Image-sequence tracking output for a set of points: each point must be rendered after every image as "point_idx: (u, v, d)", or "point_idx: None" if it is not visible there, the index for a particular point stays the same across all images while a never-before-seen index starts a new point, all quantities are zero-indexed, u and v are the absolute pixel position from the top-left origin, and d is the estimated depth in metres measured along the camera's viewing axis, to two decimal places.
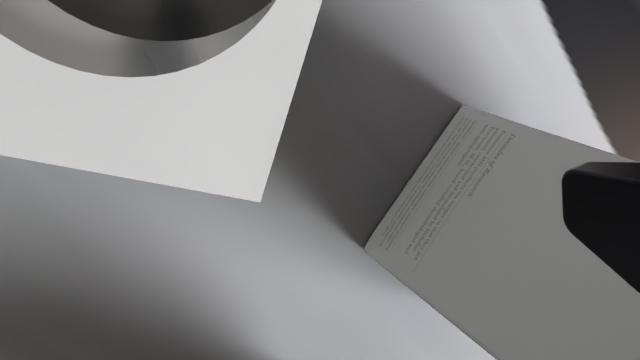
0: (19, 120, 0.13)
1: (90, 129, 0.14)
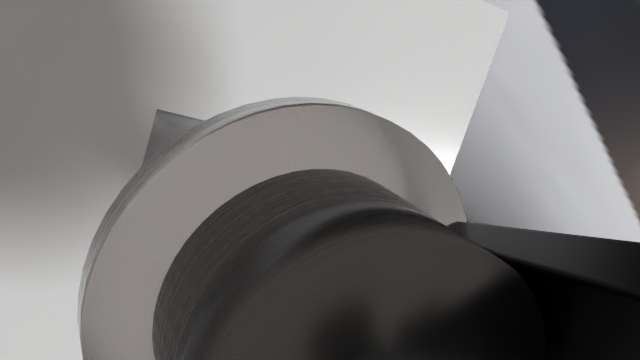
0: None
1: None
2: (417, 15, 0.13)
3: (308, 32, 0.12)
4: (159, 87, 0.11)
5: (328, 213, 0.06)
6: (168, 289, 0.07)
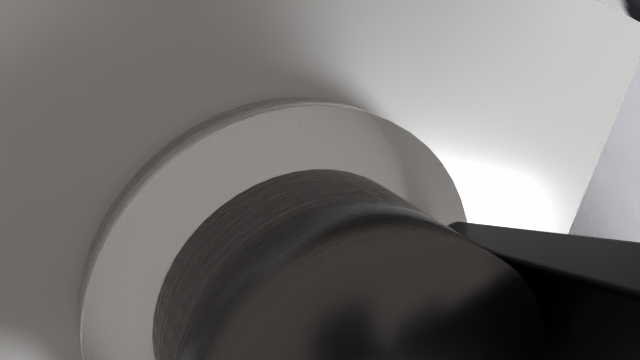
0: None
1: None
2: (545, 34, 0.10)
3: (411, 58, 0.09)
4: None
5: (328, 213, 0.06)
6: (168, 289, 0.07)
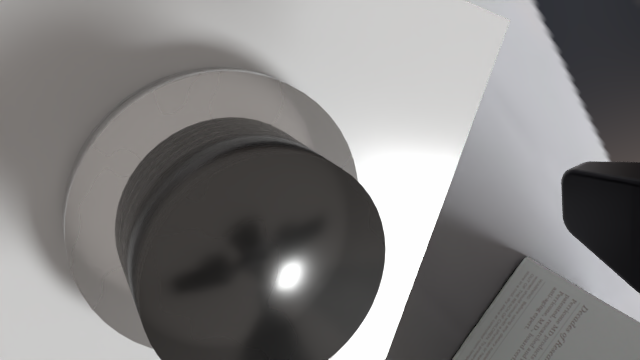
0: None
1: None
2: (418, 23, 0.13)
3: (310, 40, 0.12)
4: None
5: (229, 139, 0.10)
6: (124, 197, 0.10)
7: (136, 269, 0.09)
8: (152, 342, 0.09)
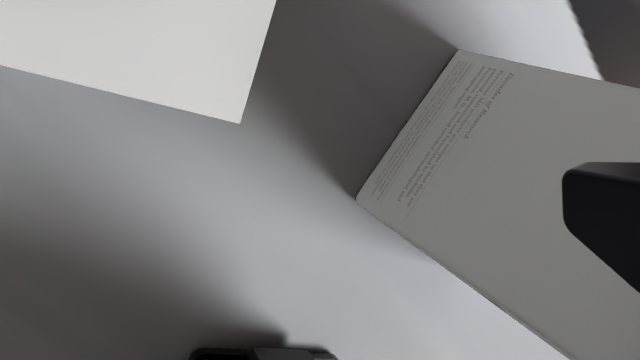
0: None
1: (51, 30, 0.13)
2: None
3: None
4: None
5: None
6: None
7: None
8: None
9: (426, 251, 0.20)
